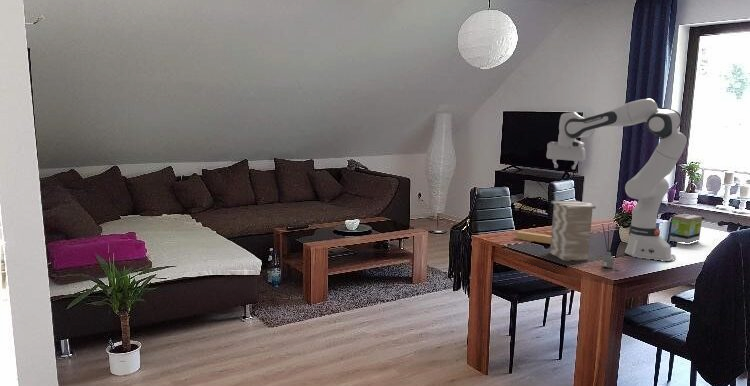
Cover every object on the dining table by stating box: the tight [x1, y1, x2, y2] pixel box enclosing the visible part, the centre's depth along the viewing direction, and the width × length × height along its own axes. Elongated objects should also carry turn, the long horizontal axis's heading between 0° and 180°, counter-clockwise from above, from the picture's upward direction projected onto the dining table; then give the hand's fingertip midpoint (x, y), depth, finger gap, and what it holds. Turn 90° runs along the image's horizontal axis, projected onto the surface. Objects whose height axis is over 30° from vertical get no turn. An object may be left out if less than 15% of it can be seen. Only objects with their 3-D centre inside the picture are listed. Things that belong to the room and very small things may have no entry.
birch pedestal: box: [549, 200, 597, 262], centre depth 268 cm, size 16×14×26 cm
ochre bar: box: [516, 230, 552, 245], centre depth 300 cm, size 22×4×4 cm, turn 58°
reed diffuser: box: [601, 223, 621, 271], centre depth 250 cm, size 10×7×20 cm
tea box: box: [669, 213, 703, 243], centre depth 305 cm, size 15×10×15 cm
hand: (564, 168), depth 299 cm, fingers open, 8 cm apart
